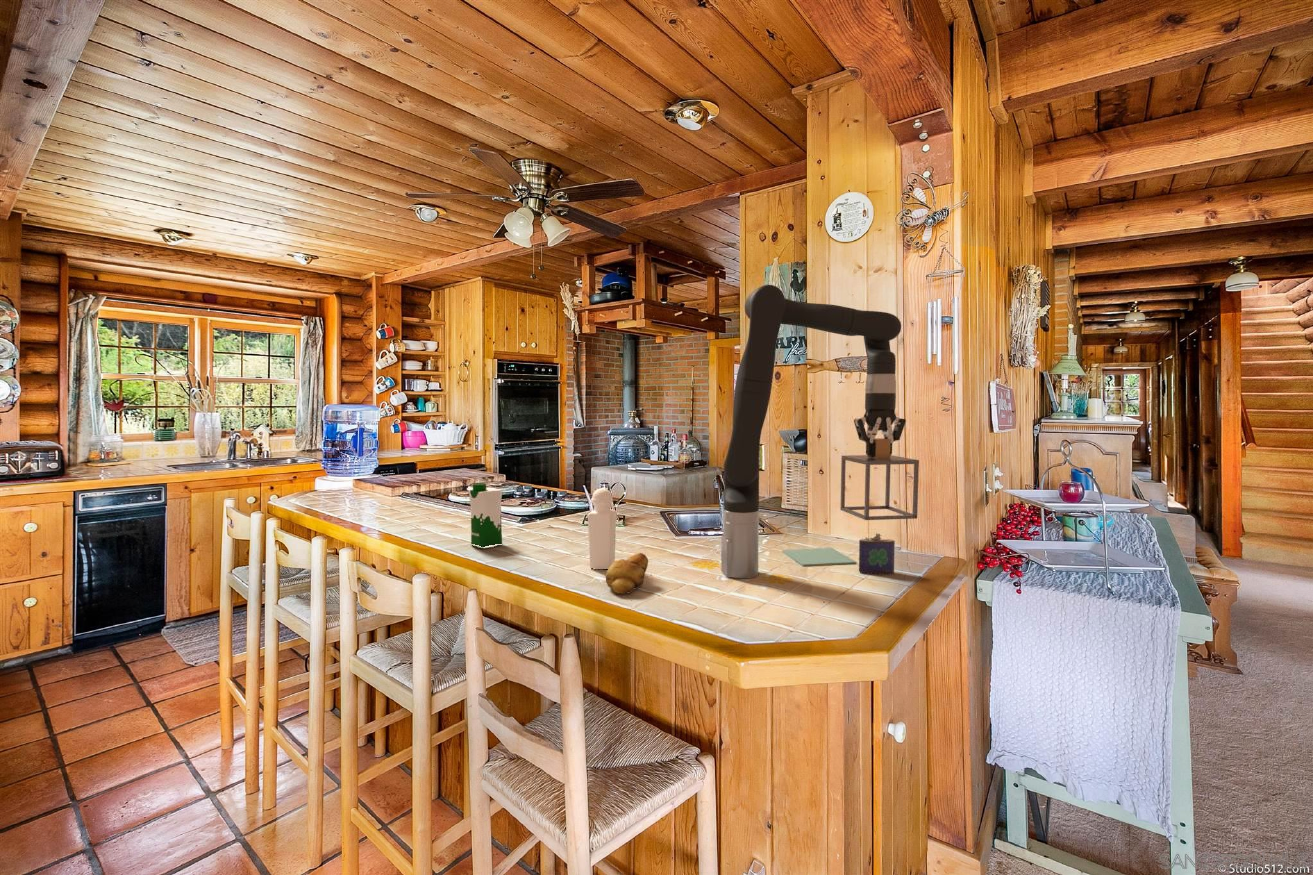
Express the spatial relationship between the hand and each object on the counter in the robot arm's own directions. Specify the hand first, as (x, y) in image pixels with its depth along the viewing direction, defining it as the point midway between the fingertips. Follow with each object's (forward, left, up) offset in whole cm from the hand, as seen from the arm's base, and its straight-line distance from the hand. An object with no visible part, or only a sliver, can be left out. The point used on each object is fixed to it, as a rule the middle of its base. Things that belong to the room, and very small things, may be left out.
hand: (878, 456), depth 155 cm
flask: (0, 0, -31) cm, 31 cm away
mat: (-9, +17, -31) cm, 37 cm away
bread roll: (-68, -2, -31) cm, 75 cm away
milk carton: (-107, +47, -31) cm, 121 cm away
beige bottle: (-72, +17, -31) cm, 80 cm away
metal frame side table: (0, 0, -15) cm, 15 cm away
